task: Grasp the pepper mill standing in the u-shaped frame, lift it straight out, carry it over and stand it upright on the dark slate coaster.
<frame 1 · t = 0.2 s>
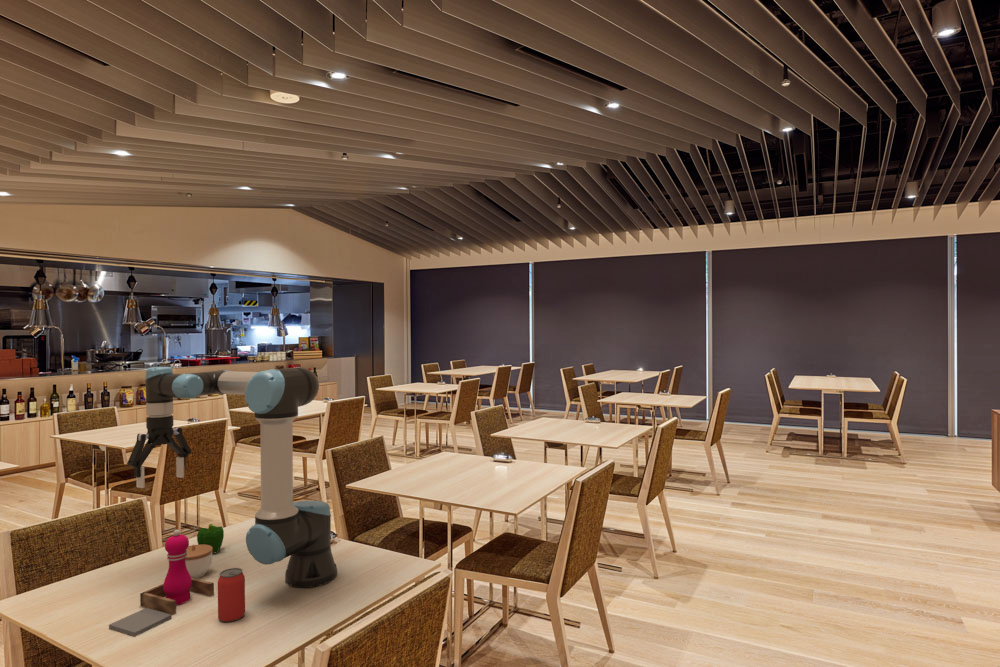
hand: (161, 482, 191), 28 cm above the table, fingers open, 13 cm apart
coaster: (140, 623, 156), on the table
lidded jar: (194, 575, 186), on the table
bell pepper: (210, 552, 206), on the table
u-shaped frame: (177, 600, 169), on the table
beer can: (231, 617, 159), on the table
pepper mill: (177, 601, 169), on the table
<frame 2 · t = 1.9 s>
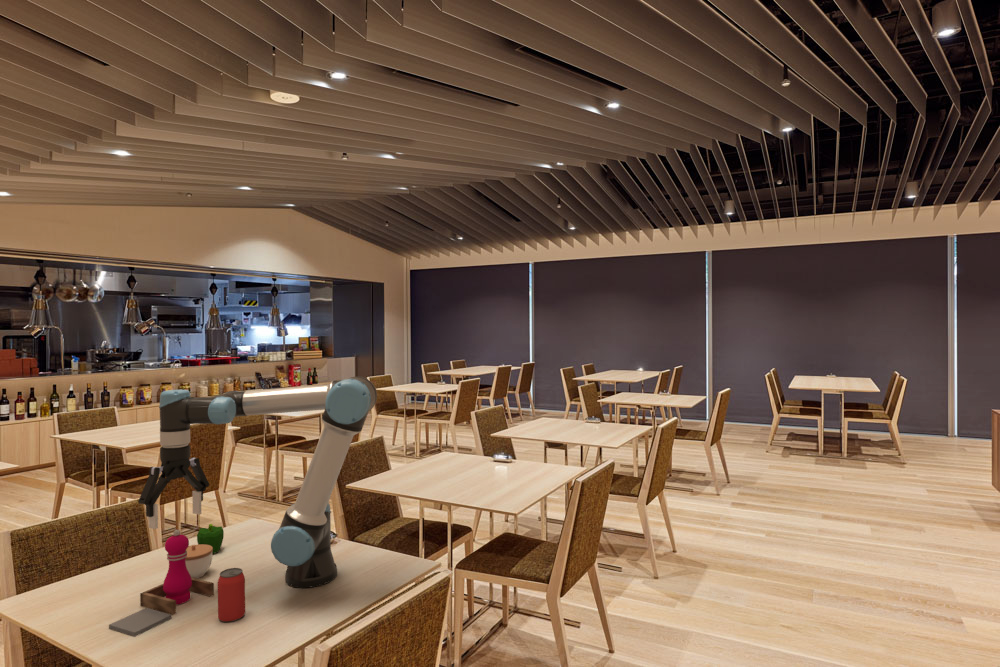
hand: (175, 520, 169), 23 cm above the table, fingers open, 13 cm apart
nothing on the table moved.
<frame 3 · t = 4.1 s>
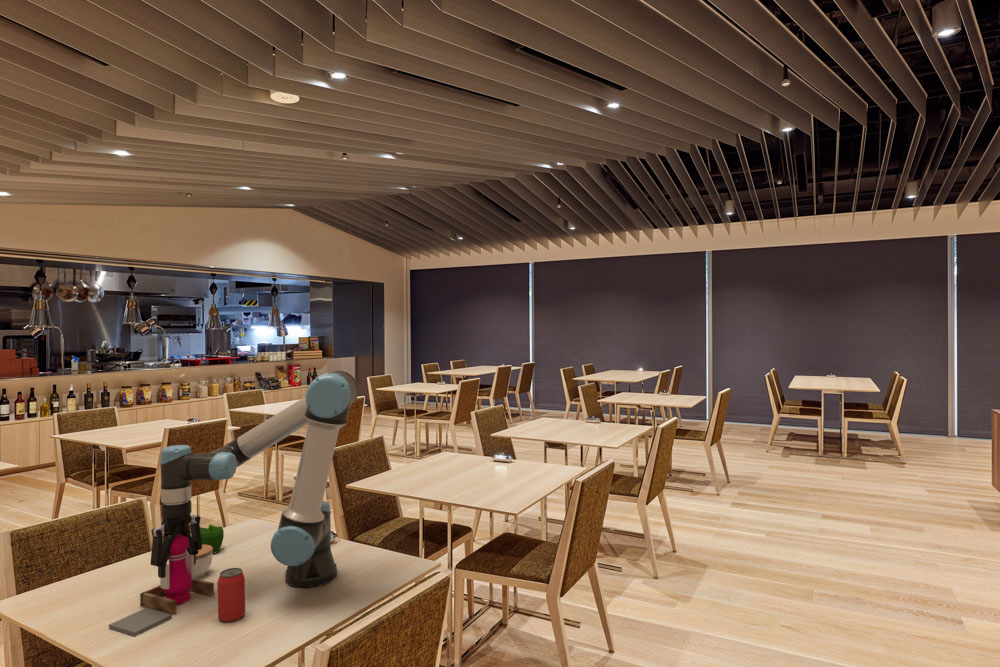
hand: (177, 582, 169), 5 cm above the table, fingers closed on pepper mill, 7 cm apart
pepper mill: (177, 601, 169), on the table, touching gripper
everything else where it was.
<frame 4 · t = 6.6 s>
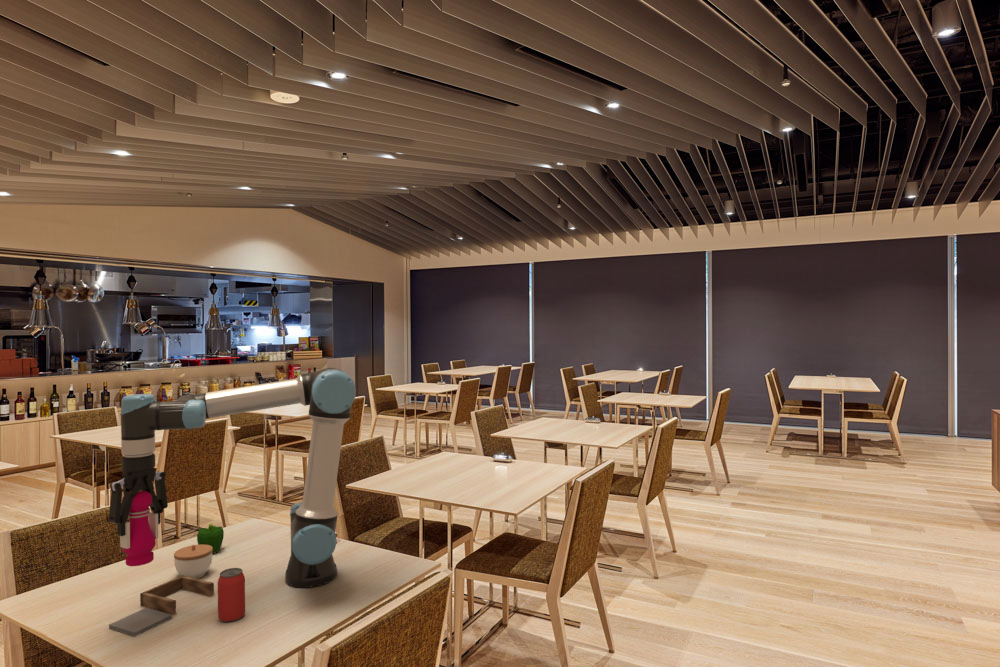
hand: (139, 542, 156), 21 cm above the table, fingers closed on pepper mill, 7 cm apart
pepper mill: (139, 562, 156), point 16 cm above the table, touching gripper
everything else where it was.
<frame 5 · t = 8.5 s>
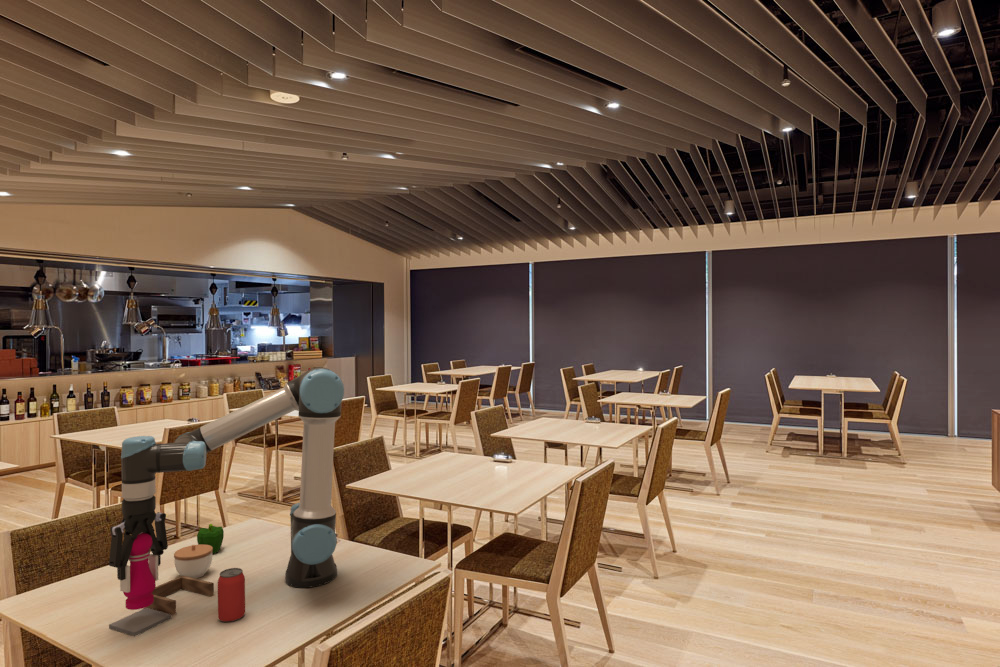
hand: (139, 585, 156), 10 cm above the table, fingers closed on pepper mill, 7 cm apart
pepper mill: (139, 605, 156), point 5 cm above the table, touching gripper
everything else where it was.
when the fingers open (7 cm above the table, at t = 9.5 s): pepper mill drops 1 cm, resting on coaster.
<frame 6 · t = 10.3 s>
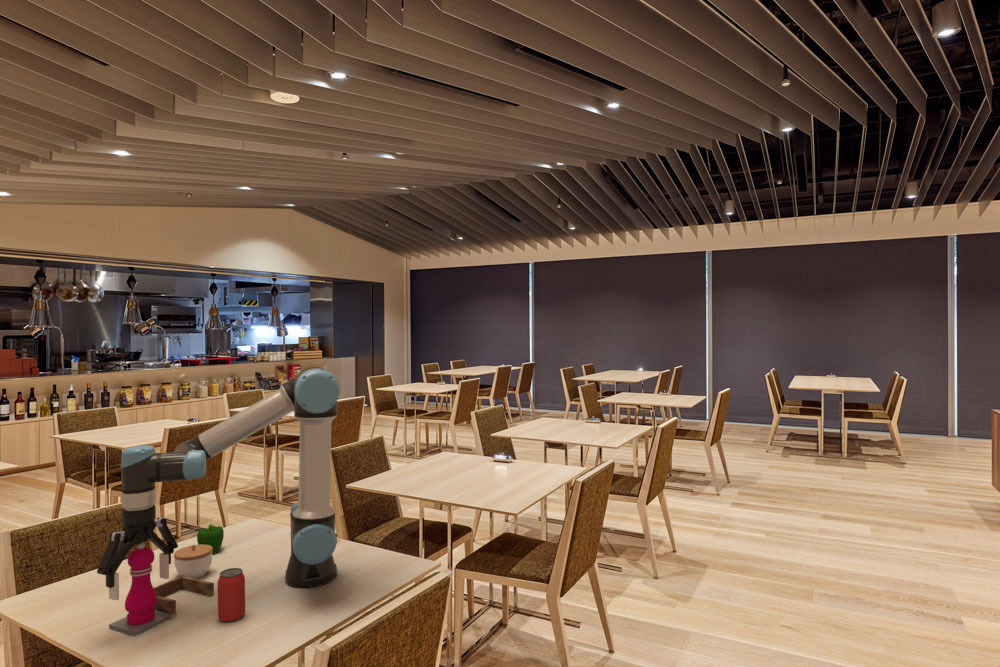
hand: (140, 588, 156), 9 cm above the table, fingers open, 13 cm apart
pepper mill: (141, 620, 156), point 1 cm above the table, touching coaster
everything else where it was.
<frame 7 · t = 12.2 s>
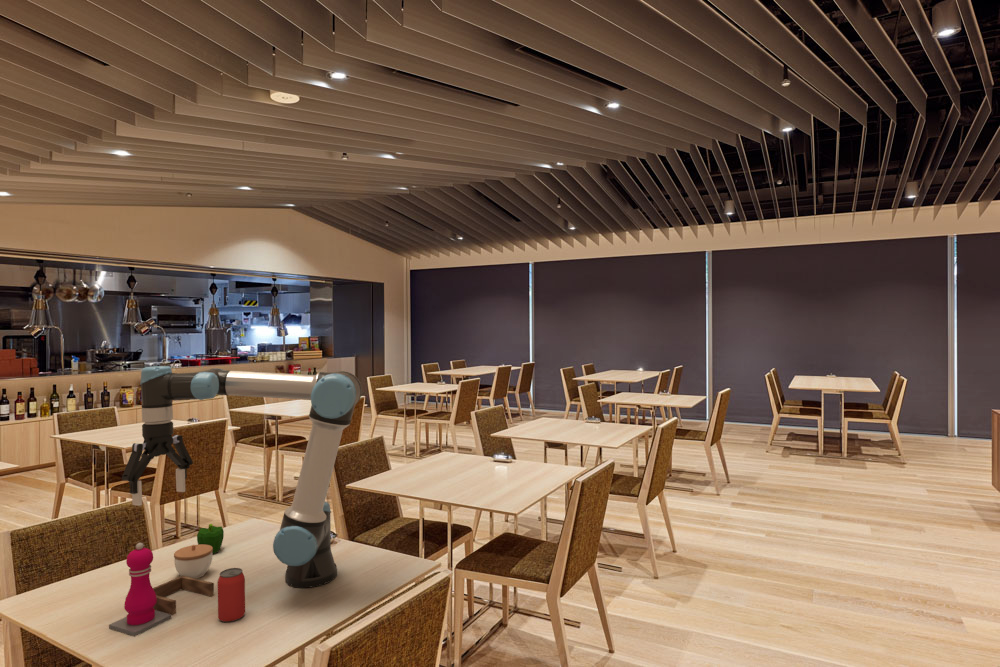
hand: (159, 498, 167), 29 cm above the table, fingers open, 13 cm apart
nothing on the table moved.
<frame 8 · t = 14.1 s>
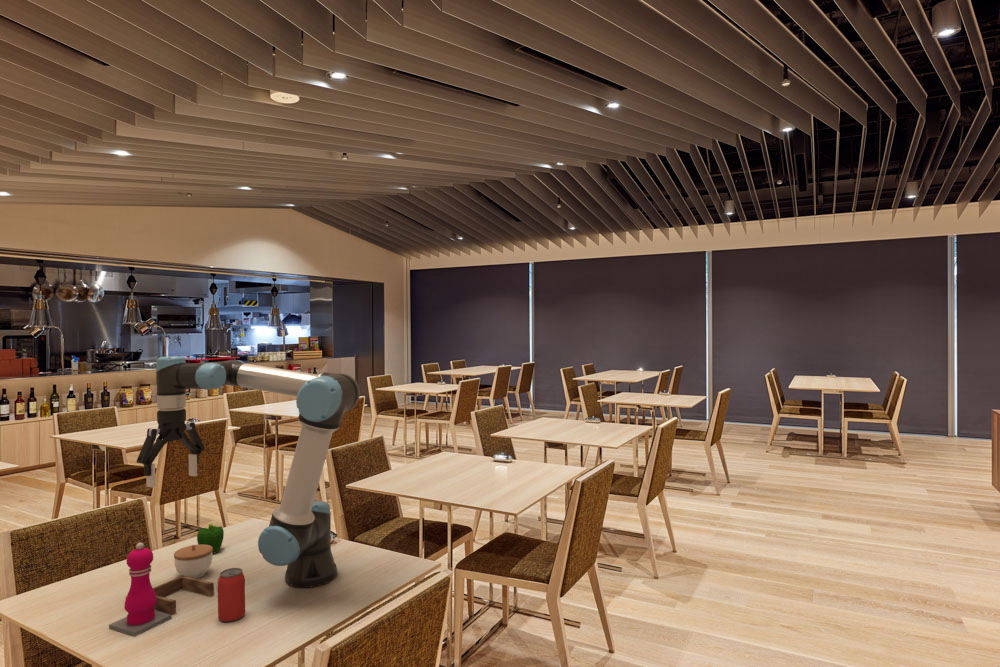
hand: (172, 481, 176), 32 cm above the table, fingers open, 13 cm apart
nothing on the table moved.
at the end: pepper mill 0.1 cm from the coaster (horizontally); pepper mill tilted 0°; the gripper is holding nothing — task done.
